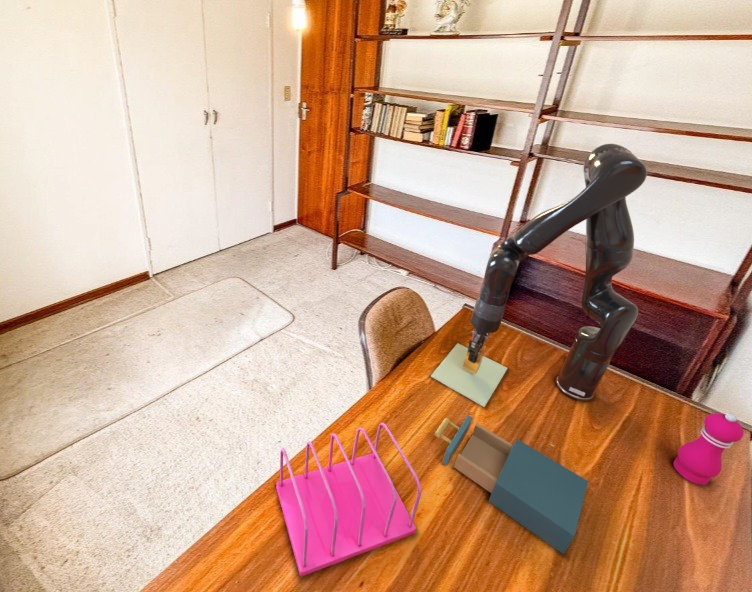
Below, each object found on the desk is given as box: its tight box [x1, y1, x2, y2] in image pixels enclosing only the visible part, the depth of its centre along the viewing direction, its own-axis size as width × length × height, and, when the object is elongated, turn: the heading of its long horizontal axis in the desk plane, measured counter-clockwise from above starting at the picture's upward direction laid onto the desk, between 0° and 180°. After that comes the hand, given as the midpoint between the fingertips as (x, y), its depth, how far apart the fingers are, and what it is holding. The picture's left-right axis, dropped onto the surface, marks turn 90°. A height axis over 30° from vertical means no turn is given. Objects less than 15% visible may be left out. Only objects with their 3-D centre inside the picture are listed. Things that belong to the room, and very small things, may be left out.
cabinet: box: [488, 438, 589, 555], centre depth 86 cm, size 15×15×7 cm
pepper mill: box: [672, 412, 744, 486], centre depth 90 cm, size 7×7×20 cm
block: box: [463, 344, 487, 374], centre depth 118 cm, size 3×4×9 cm
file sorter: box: [275, 422, 422, 577], centre depth 81 cm, size 17×25×16 cm
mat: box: [430, 342, 508, 408], centre depth 121 cm, size 20×16×1 cm
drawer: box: [434, 414, 514, 494], centre depth 95 cm, size 18×13×5 cm
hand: (474, 358), depth 119 cm, fingers closed on block, 3 cm apart
